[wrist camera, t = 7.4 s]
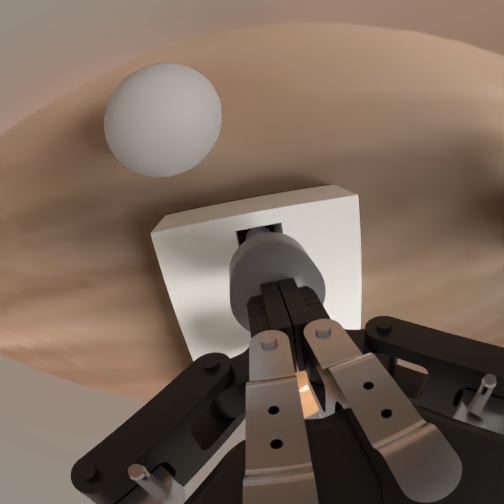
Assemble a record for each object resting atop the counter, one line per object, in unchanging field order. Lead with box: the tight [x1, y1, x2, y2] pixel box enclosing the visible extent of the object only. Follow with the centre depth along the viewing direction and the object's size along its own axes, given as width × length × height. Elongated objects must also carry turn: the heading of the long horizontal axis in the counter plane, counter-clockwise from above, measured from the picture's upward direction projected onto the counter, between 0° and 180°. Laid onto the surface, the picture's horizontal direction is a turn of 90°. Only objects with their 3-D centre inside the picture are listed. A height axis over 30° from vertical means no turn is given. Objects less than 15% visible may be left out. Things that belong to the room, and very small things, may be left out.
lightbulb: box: [104, 63, 222, 178], centre depth 15 cm, size 6×6×11 cm
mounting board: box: [150, 185, 362, 362], centre depth 24 cm, size 14×19×5 cm
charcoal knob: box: [229, 226, 326, 331], centre depth 17 cm, size 4×4×8 cm
